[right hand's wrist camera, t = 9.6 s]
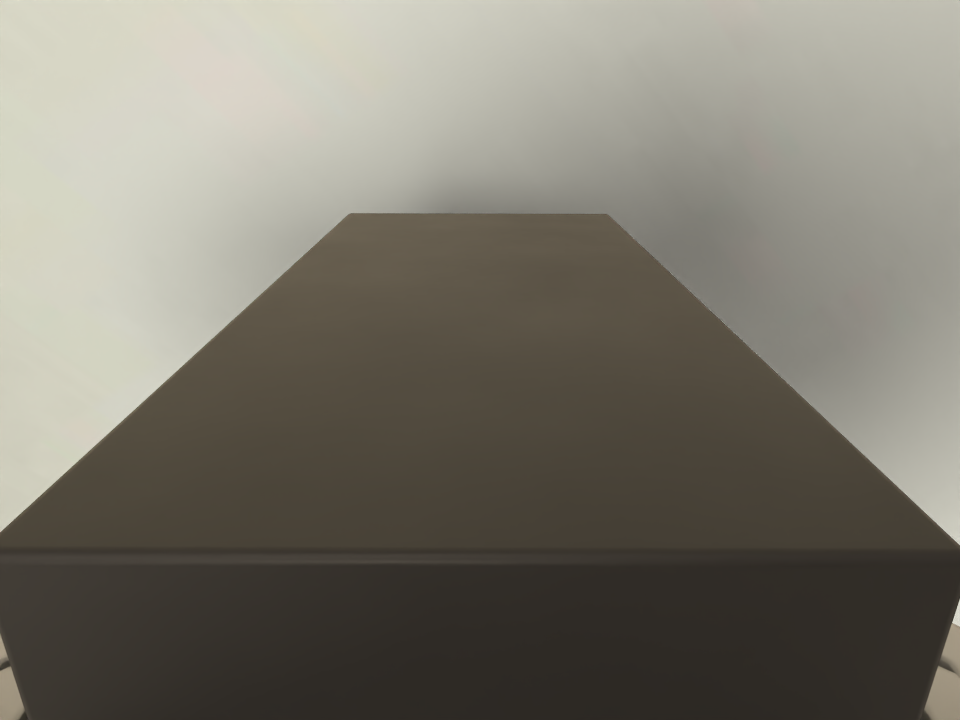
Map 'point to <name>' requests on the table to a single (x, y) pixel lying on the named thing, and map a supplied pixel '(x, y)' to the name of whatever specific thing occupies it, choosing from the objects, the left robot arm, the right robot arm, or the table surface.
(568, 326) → the box
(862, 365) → the table surface
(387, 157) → the table surface
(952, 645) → the right robot arm
